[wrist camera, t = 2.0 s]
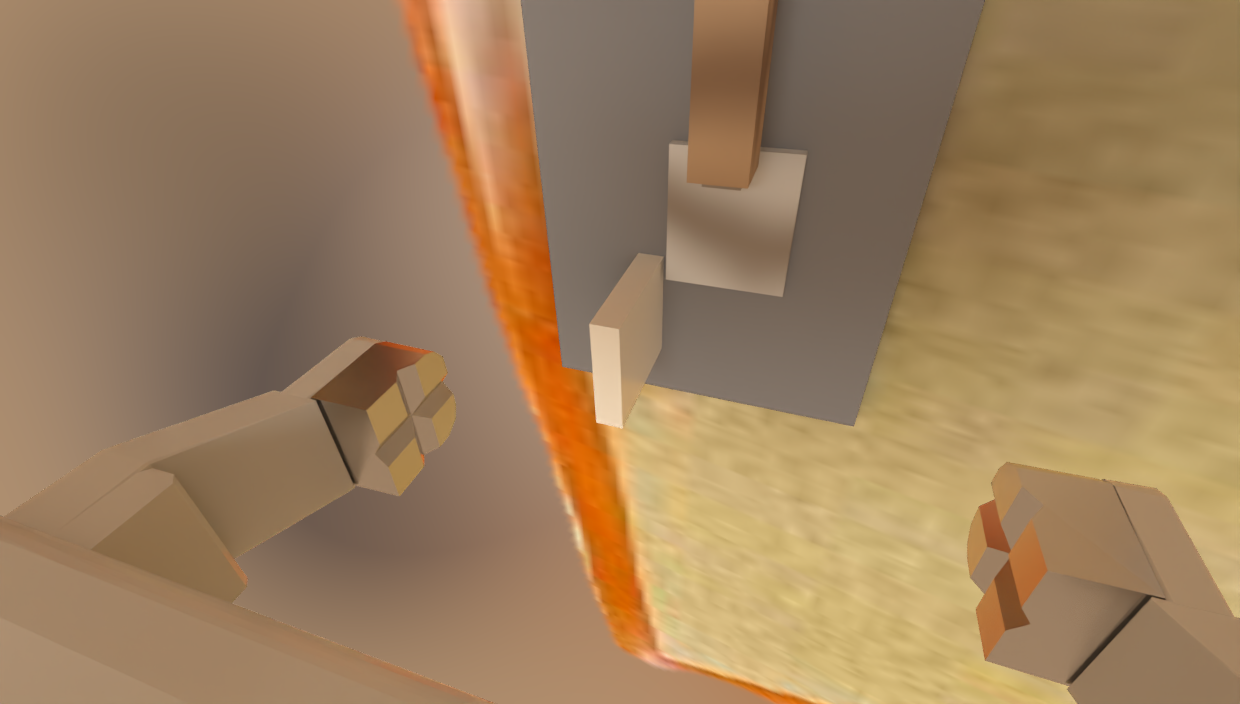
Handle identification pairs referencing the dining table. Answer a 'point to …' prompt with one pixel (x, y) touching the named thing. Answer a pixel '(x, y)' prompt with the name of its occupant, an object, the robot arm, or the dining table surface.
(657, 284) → the tile
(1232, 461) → the dining table surface
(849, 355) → the mat
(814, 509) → the dining table surface
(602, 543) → the dining table surface
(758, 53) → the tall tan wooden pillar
